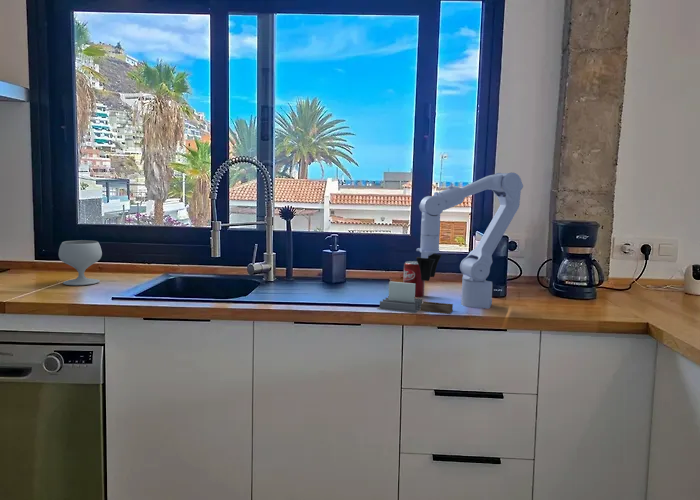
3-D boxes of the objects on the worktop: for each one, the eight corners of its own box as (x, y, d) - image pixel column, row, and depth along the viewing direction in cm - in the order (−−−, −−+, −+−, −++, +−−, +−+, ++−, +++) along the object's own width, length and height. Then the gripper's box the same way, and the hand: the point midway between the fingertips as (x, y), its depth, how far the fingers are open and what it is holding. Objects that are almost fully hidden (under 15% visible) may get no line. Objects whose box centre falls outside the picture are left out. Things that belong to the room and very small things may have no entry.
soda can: (407, 299, 182) (409, 264, 181) (399, 295, 189) (400, 261, 188) (427, 298, 184) (429, 263, 183) (418, 294, 191) (420, 260, 190)
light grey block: (414, 307, 167) (415, 283, 166) (413, 308, 166) (414, 284, 165) (389, 305, 170) (390, 281, 169) (388, 305, 169) (389, 282, 168)
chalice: (60, 280, 200) (59, 240, 198) (102, 278, 205) (101, 239, 204) (58, 287, 187) (56, 244, 185) (103, 285, 193) (101, 243, 191)
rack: (424, 306, 172) (425, 298, 171) (415, 315, 160) (415, 306, 159) (388, 303, 176) (388, 294, 176) (376, 311, 164) (376, 302, 163)
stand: (453, 312, 165) (453, 303, 165) (449, 316, 160) (450, 307, 159) (423, 309, 168) (424, 300, 168) (419, 313, 163) (419, 304, 162)
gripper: (422, 232, 175) (420, 274, 177) (411, 236, 162) (410, 281, 164) (444, 233, 173) (442, 275, 175) (435, 237, 160) (433, 283, 161)
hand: (428, 278), depth 169 cm, fingers open, 7 cm apart
